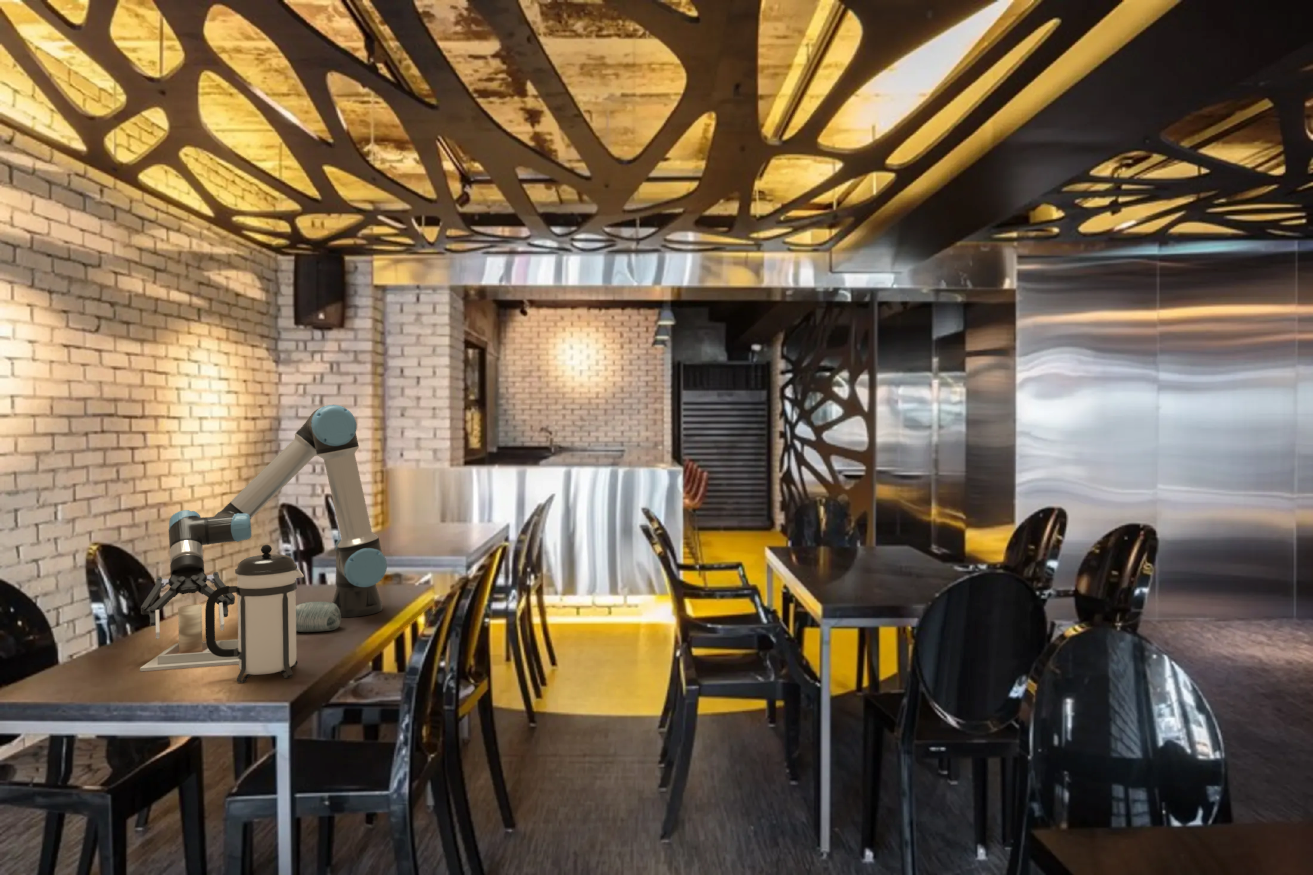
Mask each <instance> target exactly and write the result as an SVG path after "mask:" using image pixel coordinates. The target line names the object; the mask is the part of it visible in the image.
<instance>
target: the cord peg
mask: <svg viewBox="0 0 1313 875" xmlns="http://www.w3.org/2000/svg"><path fill="white" fill-rule="evenodd" d="M202 606H203V605H202V604H187V605H186V604H185V605H182V606H179V607H178V608H177V610H178V612H177V613H178V614H177V615H178V620H177V621H178V643H179V654H183V653H198V652H202V642H203V615H202V614H203V610H202V609H203V607H202Z"/></svg>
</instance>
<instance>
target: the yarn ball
mask: <svg viewBox="0 0 1313 875" xmlns="http://www.w3.org/2000/svg"><path fill="white" fill-rule="evenodd" d="M341 621H342V617H341V614H340V610H339V608H338V606H337V605H336V604H334V603H332V602H331V601H306V602H301V603H298V604H296V632H298V633H318V632H330V631H334V630H337V629H338V628H339V627H340V624H341Z"/></svg>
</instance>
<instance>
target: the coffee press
mask: <svg viewBox="0 0 1313 875" xmlns="http://www.w3.org/2000/svg"><path fill="white" fill-rule="evenodd" d="M272 549H273V548H272V546H271V545H269V544H265V545H263V546H261V548H260V551H261V553H262V554H260V555H253V556H249V557H246V558H244V559H242V560H241V561H240V562H239V563H238V565H237V567H236V569H234V570H235V571H234V573H235V575H236V579H237V580H236V581H237V584H236V585H226V586H224V587H221V588H218V589H217V588H216V589H214V590H215V591H214V592H213V593H212V594H211V595H210V596H209V598H208V597H207V600H206V604H205V609H204V610H205V611H204V612H205V613H204V614H205V615H204V619H205V620H204V621H205V622H204V624H205V641H206V644H207V647H208V649H209V650H210V652H211V653H213V654H214V655H216V656H220V657H237V658H238V659H239V664H238V668H239V670H240V671H239V674H238V675H237V677H236V682H237V683H241V684H245V683H246V682H247V680H248V679H249V678H250V677H252V676H255V675H269V674H275V673H280V675H282V677H283V679H285V680H287V679H289V678H292V677H293V671H292V669H291V668H293V667H294V668H296V667H297V665H298V662H299V661H298V660H297V631H296V605H297V601H296V600H297V598H296V596H297V593H296V591H297V580H296V579H298V578H304V574H303V573H302V571H301V570H300V568H298V564H297V563H295V560H294V559H293V557H291V556H289V555H287V554H275V553H274V554H271V552H272V551H273V550H272ZM229 593H232V594H235V595H237V639H238V648H236V649H222V648H220V647H219V646H218V645H217V644H216V641H217V640H216V616H215V615H216V613H215V612H216V611H215V610H216V609H215V607H216V604H217V603H216V600H217V599H218V597H220V596H221V595H222V596H223V595H224V594H229Z"/></svg>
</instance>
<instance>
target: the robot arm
mask: <svg viewBox="0 0 1313 875" xmlns="http://www.w3.org/2000/svg"><path fill="white" fill-rule="evenodd" d="M357 425H358V424H357V420H356V418H355V416H354V415H353V413H352V412H351V411H350V410H349V409H347V408H346V407H344V406H341V405H339V404H328V405H325V406H322V407H319V408H317V409H316V410H314V411H313V412H312V413H311V414H310V416H309V417H308V418H307V420H306V421H305V422H304V424H302V426H301V427H300V428H299V429H298V430H297V431H296V432H295V433H294V438H293V440H292V441H291V442H290V443H289V444H288V445H287V446H286V447H285V448H284V449H282V450H281V452H280V453H279V454H278V455H276V456H275V458H273V459H272V461H271V462H269V463H268V464H267V465H266V466H265V467H264V468H263V469H262V470H261V471H260V472H259V473H258V474H257V475H256V476H255V477H253V479H252V480H250V482H248V484H246V486H244V487H243V489H242V490H241V491H240V492H239V493H238V494H237V495H236V496H234V497H233V499H231V500H230V502H228V503H227V505H226V506H224V507H223V509H221V510H220V511H218V512H217V513H216V514H215V515H214V516H205V517H204V516H203V517H201V515H200V514H199V512H197V511H195V510H189V509H185V510H180V511H177V512H175V513H173V515H171V516H170V518H169V522H168V542H169V563H170V564H169V570H170V573H169V574H170V577H169V578H162V577H161V576H158V577H156V581H155V585H154V586H153V588H152V589H151V591H150V593H149V594H148V595H147V597H146V599H145V600H144V601H143V603H142V605H141V606H140V614H141V615H143V616H145V615H149V626H150V627H155V639H156V640H157V639H158V640H159V639H160V636H161V635H160V634H161V633H160V632H161V630H160V628H161V627H160V610H162V609H163V608H164V607H165V606H166V605H167V604H168V603H169V602H170V601H171V600H172V599H173V598H175V597H177V596H178V595H179V594H181V595H187V594H196V593H197V592H198V593H200V594H201V595H204V596H205V597H207V599H208V598H209V596H210V595H211V594H212V593H213V592H214V591H215V590H216V589H218V588H221V587H224V586H227V585H226V583H224V582H223V580H222V579H221V578H220V574H219V572H218V571H214V572H213V573H212V574H209V575H207V574H206V573H205V563H204V562H205V561H204V547H203V546H208V545H216V544H223V543H224V544H225V543H231V542H233V543H234V542H235V543H239V542H241V541H246V540H247V541H248V540H250V539H251V538H252V522H251V520H252V519H253V518H254V517H255V516H256V515H257V514H258V513H259V512H260V511H261V510H262V509H263V507H265V506H266V505H267V504H268V503H269V502H270V501H271V499H273V498H274V497H275V496H276V495H277V494H278V493H279V492H280V491H281V490H282V489H283V488H284V487H285V486H286V485H287V484H288V483H289V482H290V481H291V480H292V479H293V478H294V477H295V476H296V475H297V474H298V473H299V472H300V471H301V470H302V469H303V468H304V467H306V465H307V464H308V463H309V462H310V461H311V460H312V459H313V458H314V457H316V456H317V457H319V458H321V459H322V460H323V461H324V462H323V463H324V467H325V471H326V475H327V480H328V485H329V488H330V493H331V497H332V501H333V502H332V503H333V508H334V511H335V515H336V520H337V524H338V529H339V533H340V538H341V539H338V540H337V541H336V542H335V549H334V552H335V581H336V582H335V583H336V584H335V585H336V586H335V587H336V588H335V592H334V596H333V597H332V600H331V601H332V602H331V603H334V604H336V605H337V606H338V608H339V610H340V614H341V618H351V617H352V618H353V617H355V618H357V617H362V616H364V617H365V616H369V615H370V616H371V615H374V614H378V613H380V612H382V611H383V601H382V598H381V596H380V592H379V591H378V587H377V584H378V583H379V582H381V581H382V579H384V577H385V575H386V572H387V568H388V562H387V558H386V556H385V554H384V552H383V551H382V546H381V542H380V538H379V535H378V534H376V533H374V532H373V531H372V526H371V521H370V517H369V513H368V508H367V504H366V498H365V494H364V490H363V485H362V480H361V476H360V471H359V467H358V464H357V463H358V462H357V458H356V457H357V456H356V452H357V450H358V449H359V447H360V446H359V443H358V442H359V441H358V437H357V429H358V427H357ZM207 581H208V582H210V583H211V584H213V585H214V586H215V588H216V589H213V588H212V587H210V586H209V585H208V584H207ZM167 585H168V586H169V589H168V590H167V591H165V593H164V594H163V595H162V596H160V598H159V599H157V598H158V596H159V595H160V594H161V591H162V589H164V588H165V587H166V586H167ZM235 603H236V596H235V594H234V593H229V594H224V595H221V596H220V597H218V599H217V600H216V603H215V604H217V605H218V618H219V631H224V630H225V618H228V616H229V606H230V605H231V606H232V605H234V604H235Z"/></svg>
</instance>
